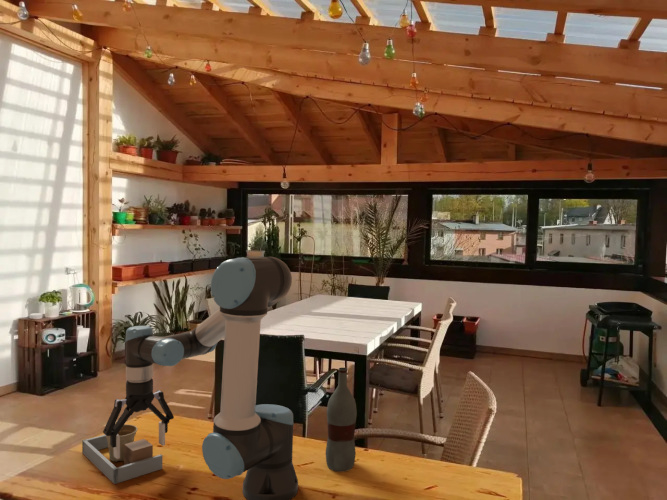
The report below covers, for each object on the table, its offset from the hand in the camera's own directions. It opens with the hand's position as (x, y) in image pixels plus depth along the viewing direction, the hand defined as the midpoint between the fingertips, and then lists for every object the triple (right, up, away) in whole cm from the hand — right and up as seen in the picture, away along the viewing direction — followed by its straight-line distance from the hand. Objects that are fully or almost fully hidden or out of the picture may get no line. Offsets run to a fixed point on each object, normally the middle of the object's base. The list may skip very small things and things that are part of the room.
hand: (140, 450), depth 152 cm
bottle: (+59, -7, +5) cm, 60 cm away
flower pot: (-8, -5, +7) cm, 12 cm away
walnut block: (-1, -5, +1) cm, 5 cm away
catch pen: (-7, -5, +5) cm, 10 cm away
